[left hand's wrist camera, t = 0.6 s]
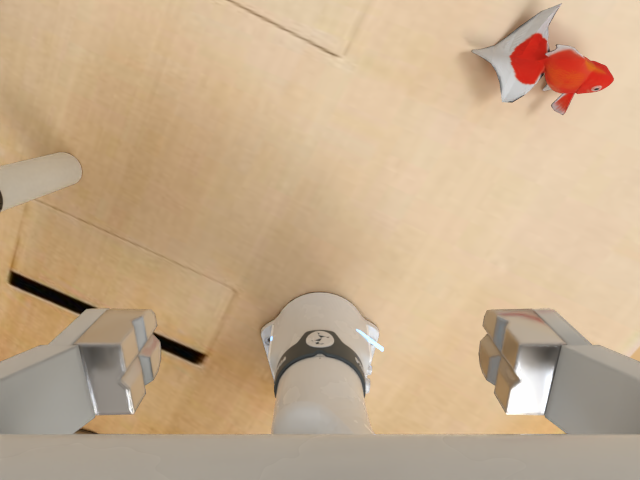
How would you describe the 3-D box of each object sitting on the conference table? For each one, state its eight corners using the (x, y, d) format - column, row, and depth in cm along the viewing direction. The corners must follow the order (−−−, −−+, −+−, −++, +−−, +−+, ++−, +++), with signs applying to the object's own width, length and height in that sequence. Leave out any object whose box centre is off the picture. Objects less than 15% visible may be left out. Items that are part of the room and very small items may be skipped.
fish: (557, 154, 51) (594, 116, 42) (449, 96, 55) (460, 49, 46) (604, 86, 52) (652, 33, 42) (493, 33, 56) (514, -26, 46)
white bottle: (85, 184, 58) (-7, 221, 41) (53, 185, 58) (-52, 222, 41) (78, 151, 56) (-21, 176, 40) (45, 152, 56) (-68, 177, 40)
